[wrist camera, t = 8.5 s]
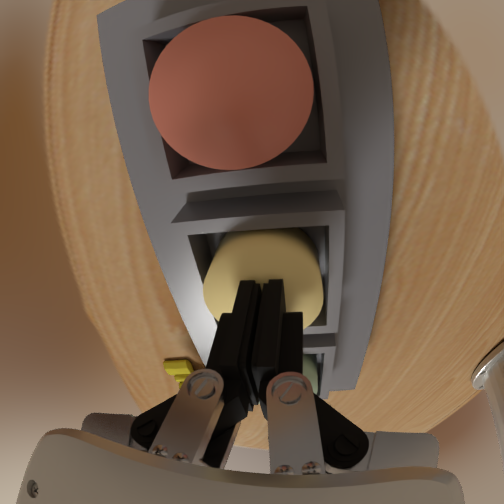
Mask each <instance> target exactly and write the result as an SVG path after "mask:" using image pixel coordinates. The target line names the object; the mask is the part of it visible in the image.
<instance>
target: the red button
mask: <svg viewBox="0 0 504 504" xmlns="http://www.w3.org/2000/svg"><path fill="white" fill-rule="evenodd" d="M313 95H314V88H313V79H312V74H311V70H310V67H309V65H308V62H307V60H306V58H305V56H304V54H303V53H302V51H301V50H300V48H299V47H298V46H297V44H296V43H295V42H294V41H293V40H292V39H291V38H290V37H289V36H288V35H287V34H285V33H284V32H283V31H281V30H280V29H279V28H277V27H275V26H273V25H271V24H269V23H267V22H264V21H262V20H259V19H256V18H251V17H247V16H236V15H232V16H220V17H214V18H210V19H207V20H203V21H201V22H198V23H196V24H194V25H192V26H190V27H188V28H187V29H185V30H183V31H182V32H181V33H179V34H178V35H177V36H176V37H174V38H173V39H172V40H171V41H170V43H169V44H168V45H167V46H166V47H165V48H164V50H163V51H162V52H161V54H160V56H159V57H158V59H157V61H156V63H155V66H154V68H153V71H152V74H151V78H150V83H149V105H150V111H151V114H152V118H153V120H154V123H155V125H156V127H157V129H158V131H159V132H160V134H161V136H162V137H163V138H164V139H165V141H166V142H167V143H168V144H169V145H170V146H171V147H172V148H173V149H174V150H175V151H176V152H178V153H179V154H180V155H182V156H183V157H185V158H187V159H188V160H190V161H192V162H194V163H197V164H199V165H202V166H205V167H209V168H214V169H221V170H239V169H245V168H250V167H254V166H257V165H260V164H262V163H265V162H267V161H269V160H271V159H273V158H274V157H276V156H278V155H279V154H281V153H282V152H283V151H284V150H286V149H287V148H288V147H289V146H290V145H291V144H292V143H293V142H294V141H295V140H296V138H297V137H298V136H299V135H300V133H301V132H302V130H303V128H304V126H305V125H306V123H307V120H308V118H309V115H310V112H311V108H312V104H313Z"/></svg>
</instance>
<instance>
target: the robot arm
mask: <svg viewBox="0 0 504 504" xmlns="http://www.w3.org/2000/svg"><path fill="white" fill-rule="evenodd" d="M471 382H472V385H473V388H475V389H478V390H480V389H485V391H486V394H487V397H488V400H489V404H490V408H491V411H492V415H493V418H494V423H495V427H496V432H497V436H498V441H499V446H500V451H501V458H502V464H503V472H504V342H502V343H501V344H500V345H499V346H497V347H496V348H495V349H494V350H493V351H492V352H491V353H490V354H489V355H488V356H487V357H486V358H485V359H484V360H483V361H482V362H481V363H480V364H479V366H478V367H477V368H476V370H475V371H474V373H473V375H472V378H471ZM259 402H260V406H261V409H262V412H263V415H264V418H265V419H266V420H267V421H268V435H269V453H270V473H271V474H261V473H250V472H240V471H232V470H224V467H225V465H226V463H227V460H228V457H229V455H230V452H231V449H232V447H233V444H234V441H235V438H236V436H237V433H238V430H239V427H240V424H241V420H243V419H244V418H246V417H247V414H248V411H253V407H254V405H258V404H259ZM438 455H439V442H438V441H437V439H436V437H434V436H433V435H432V434H428V433H400V432H382V431H376V433H373V432H363V431H362V430H361V429H360V428H359V427H357V426H356V425H355V424H353V423H352V422H351V421H349V420H348V419H347V418H345V417H344V416H343V415H341V414H340V413H339V412H338V411H336V410H335V409H334V408H332V407H331V406H330V405H329V404H327V403H326V402H325V401H324V400H322V399H321V398H320V397H319V396H317V395H316V394H315V393H314V392H313V388H312V385H311V382H310V381H309V379H308V378H307V377H306V376H304V375H303V312H286V303H285V293H284V283H283V279H269V281H268V283H264V284H263V289H262V292H261V286H260V283H257V284H256V283H255V280H241V281H240V283H239V286H238V290H237V294H236V298H235V302H234V306H233V310H232V313H222V314H221V316H220V319H219V323H218V326H217V330H216V333H215V337H214V340H213V344H212V347H211V350H210V354H209V357H208V361H207V364H206V368H205V369H199V370H196V371H194V372H192V373H191V374H189V375H188V376H187V377H186V379H185V380H184V382H183V384H182V386H181V388H180V390H179V392H178V394H176V395H174V396H173V397H171V398H169V399H168V400H166V401H164V402H162V403H160V404H159V405H157V406H155V407H153V408H151V409H150V410H148V411H146V412H144V413H142V414H140V415H139V416H136V417H135V416H133V415H129V414H128V415H127V414H126V415H125V414H107V413H91V414H89V415H87V416H86V418H85V419H84V421H83V423H82V428H81V430H77V429H70V428H59V429H54V430H50V431H49V432H47V433H45V435H44V436H43V437H42V438H41V439H40V441H39V442H38V444H37V446H36V448H35V450H34V452H33V454H32V456H31V459H30V461H29V464H28V466H27V469H26V472H25V475H24V478H23V481H22V484H21V488H20V491H19V495H18V498H17V503H16V504H465V503H464V495H463V491H462V487H461V484H460V482H459V480H458V479H457V477H456V476H455V475H454V474H453V473H451V472H449V471H446V470H443V469H439V468H437V462H438Z"/></svg>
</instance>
